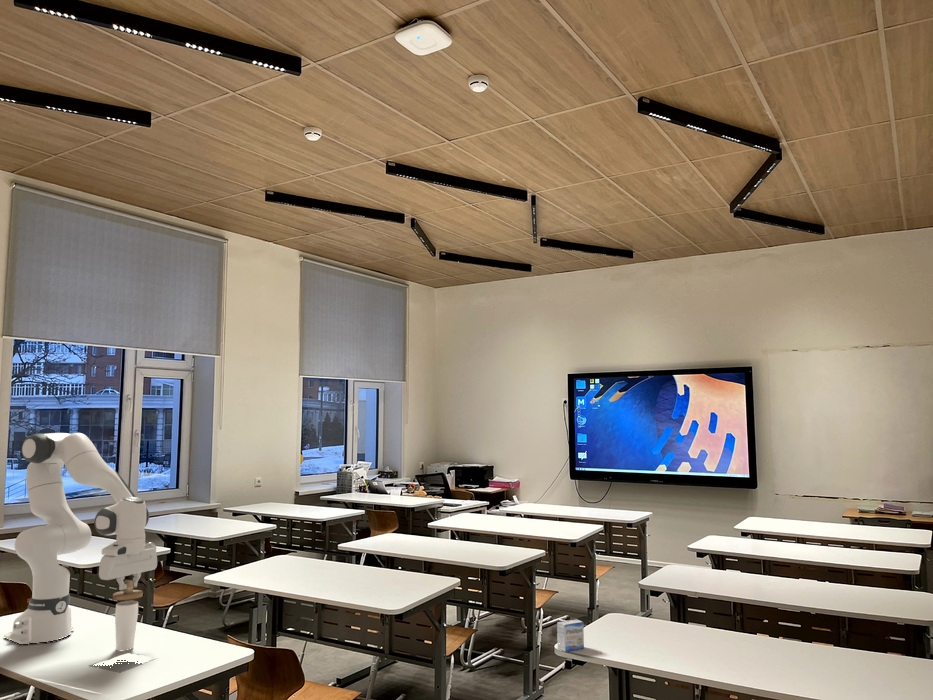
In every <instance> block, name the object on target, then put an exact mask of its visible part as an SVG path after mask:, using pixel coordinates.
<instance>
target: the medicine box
mask: <svg viewBox="0 0 933 700" xmlns="http://www.w3.org/2000/svg"><path fill="white" fill-rule="evenodd" d="M584 627H585V626H584V621H582V620H579V619H577V618H576V619H575V618H574V619H570V620H564V621H558V622H556V629H557V630H556V632H557V633H556V636H557V649H558V650H561V651H562V652H565V653H567V652H573V651H578V650H584V648H585V637H584V635H585V634H584ZM559 643H560V644H559Z"/></svg>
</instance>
